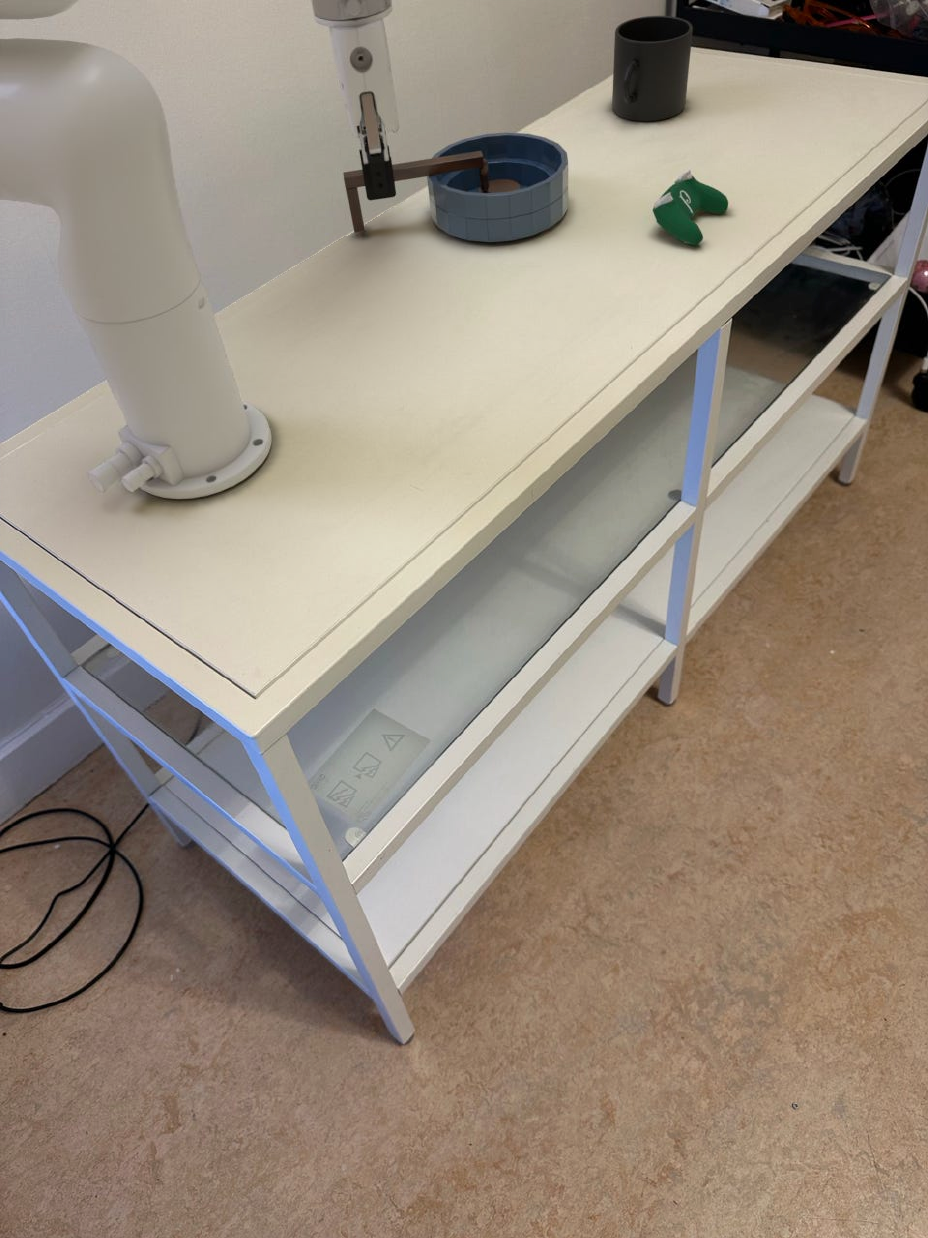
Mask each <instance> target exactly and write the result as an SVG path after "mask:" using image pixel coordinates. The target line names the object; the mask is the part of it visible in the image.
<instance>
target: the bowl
mask: <svg viewBox="0 0 928 1238" xmlns="http://www.w3.org/2000/svg"><path fill="white" fill-rule="evenodd" d="M476 151H481V152H482V154H483V158H484V159H486V160H487V162H488V175H489V181H492V180H497V179H508V180H513V181H516V182H517V183H519V184H520V187H521V189H518V190H514V191H510V192H499V193H478V189H479V187H480V177H479V168H475V169H469V170H463V171H457V172H450V173H444V174H438V175H431V176H426V179H427V181H426V182H427V191H428V197H429V198H428V199H429V206H430V216H431V219H432V221H433V223H434V224H435V226H436V227H437V228H438V229H439V230H441V231H443V232H444V233H446V234H447V235H449V236H451V237H455V238H459V239H461V240H465V241H474V242H484V243H494V242H496V243H497V242H510V241H515V240H520V239H523V238H528V237H533V236H535V235H537V234H540V233H542V232H544V231H546V230H548V229H551V228H552V227H553V226H554V225H555V224H557V223H558V222H560V221H561V220H562V219H563V218H564V216H565V214H566V212H567V210H568V208H569V158H568V153H567V151H566V150H565V149H564V148H563V147H562V145H560V144H559V143H557V142H556V141H553V140H551V139H550V138H547V137H545V136H540V135H535V134H531V133H525V132H524V133H523V132H522V133H521V132H507V131H506V132H494V133H485V134H481V135H476V136H472V137H467V138H464V139H461V140H458V141H456V142H453V143H451V144H448V145H447V146H445V147H444V148H442V149H441V150H439V151H438V152H435V153H434V154H433V156H432V157H431V159H432V158H438V157H444V156H451V155H457V154H463V153H469V152H476Z"/></svg>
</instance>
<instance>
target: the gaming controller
mask: <svg viewBox="0 0 928 1238" xmlns="http://www.w3.org/2000/svg"><path fill="white" fill-rule="evenodd" d="M728 207H729V201H728V198H727V196H726V195H725V193H723V192H722V191H720V190H719V189H716V188H715V187H713V186H710V185H707V184H706V183H703V182H700V181H699V180H697V179H696V178H695V176H694V175H693V174H692V172H691V169H689V170H687V171H686V172H684V173H682V174H681V175H680V176H678V178H677V179H675V181H673V184H671V185H670V186H669V187H668V188H667V190H665V191H664V192H663V194H662V195H661V196H660V198H659V199H657V201H656V202H655V203H654V205H653V208H652V212H653V216H654V218H655V220H656V224H658V225H660V227H662V229H664V230H665V232H666V233H669V234H670V235H671V236H672V237H673V238H676V239H677V240H679V241H681V242H683V243H685V244H688V245H691V246H695V247H697V246H698V245H699V244H700V243H702V241H703V239H704V235H703V233H702V230H701V229H700V227H699V226H698V225H697V224H696V223H695V221H694V220H693V219H692V218H693V217H694V216H695V214H696V213H697V212H698V211H703V212H707V213H712V214H724V213H725V212H726V211H727V210H728Z"/></svg>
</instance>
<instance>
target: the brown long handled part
mask: <svg viewBox="0 0 928 1238" xmlns="http://www.w3.org/2000/svg"><path fill="white" fill-rule="evenodd" d="M392 167H393V174H394V181H395V182H399V181H405V180H411V179H418V178H424V177H427V176H431V175H438V174H444V173H450V172H457V171H463V170H469V169H475V168H479V177H480V187H479V189H478V193H499V192H510V191H514V190H518V189H521V187H520V184H519V183H517V182H516V181H513V180H508V179H497V180H492V181H489V175H488V162H487V160H486V159H484V158H483V154H482V152H481V151H476V152H469V153H463V154H457V155H451V156H444V157H438V158H432V157H431V158H426V159H420V160H414V161H407V162H401V163H393V164H392ZM343 181H344V186H345V192H346V196H347V201H348V207H349V212H350V217H351V218H350V219H351V223H352V228H353V233H362V232H365V231H366V229H365V223H364V218H363V212H362V207H361V206H362V205H361V201H360V195H359V190H358V188H361V187H365V183H364V177H363V170H362V169H357V170H350V171H345V172H343Z"/></svg>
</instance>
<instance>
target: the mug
mask: <svg viewBox="0 0 928 1238" xmlns="http://www.w3.org/2000/svg"><path fill="white" fill-rule="evenodd" d="M693 30H694V27H693V24H692V23H691V22H690V21H688V20H686V19H683V18H681V17H677V16H670V15H646V16H639V17H635V18H631V19H628V20H626V21H624V22H621V23H620V24H619V25H618V26H617V27H616V28H615V31H614V46H613V68H612V69H613V70H612V95H611V96H612V97H611V108H612V110H613V113H614V114H616V115H617V116H618V117H621V118H623V119H626V120H631V121H635V122H636V121H638V122H655V121H661V120H666V119H669V118H672V117H675V116H677V115H678V114H680V113H682V111H683V110H684V108H685V106H686V103H687V102H686V101H687V92H688V82H689V72H690V62H691V61H690V60H691V51H692V40H693Z"/></svg>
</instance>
